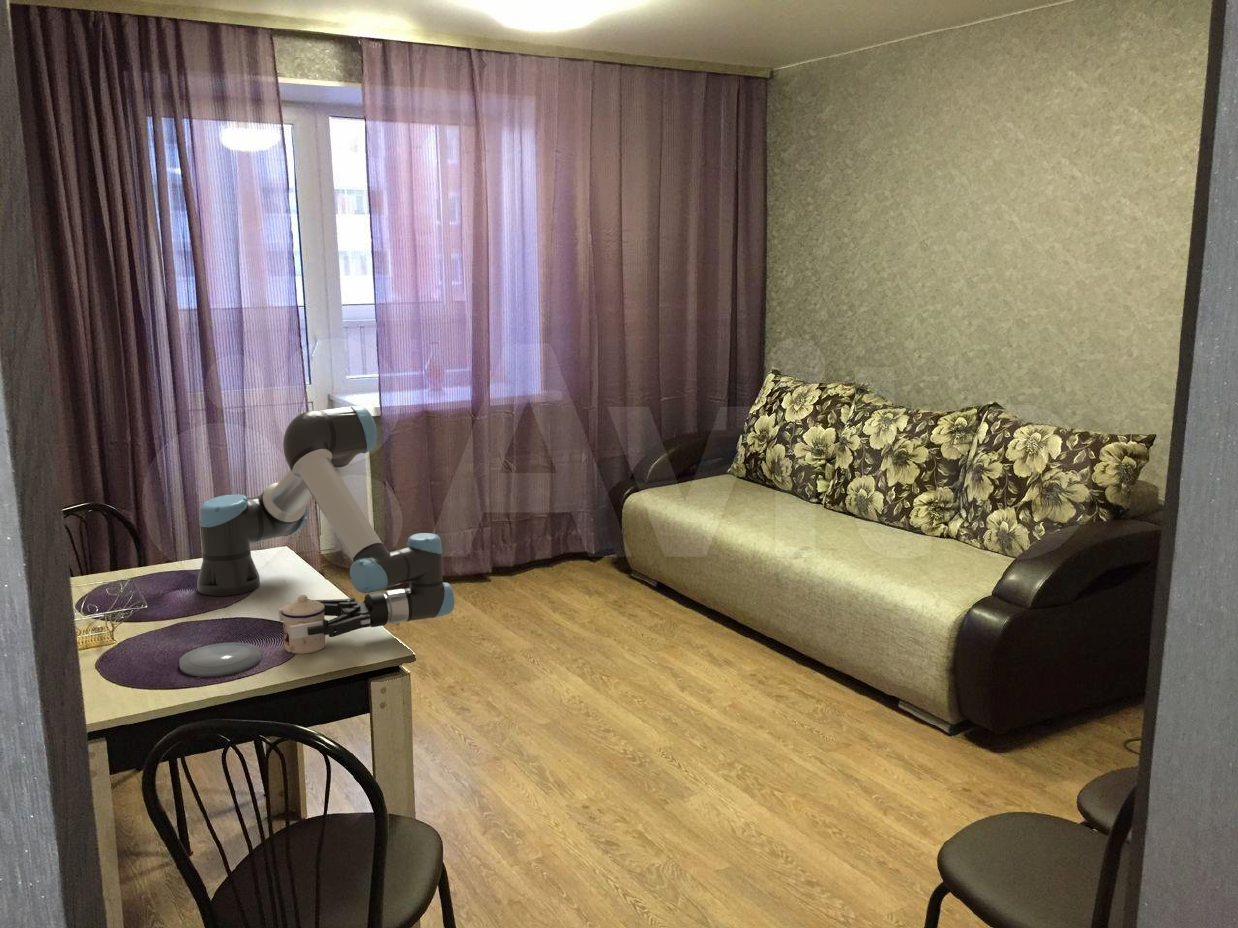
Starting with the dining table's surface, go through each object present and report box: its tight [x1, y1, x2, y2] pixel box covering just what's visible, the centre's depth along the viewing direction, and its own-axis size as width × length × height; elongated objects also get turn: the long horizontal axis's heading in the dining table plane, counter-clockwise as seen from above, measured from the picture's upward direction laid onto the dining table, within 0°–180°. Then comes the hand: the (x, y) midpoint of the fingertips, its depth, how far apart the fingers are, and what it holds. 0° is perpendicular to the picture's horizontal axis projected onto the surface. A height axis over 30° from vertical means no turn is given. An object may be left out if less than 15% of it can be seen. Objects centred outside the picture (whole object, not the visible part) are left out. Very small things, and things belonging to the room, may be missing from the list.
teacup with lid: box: [281, 594, 327, 655], centre depth 222 cm, size 12×9×12 cm
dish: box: [178, 641, 262, 678], centre depth 216 cm, size 16×16×1 cm
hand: (284, 623), depth 220 cm, fingers closed on teacup with lid, 11 cm apart
